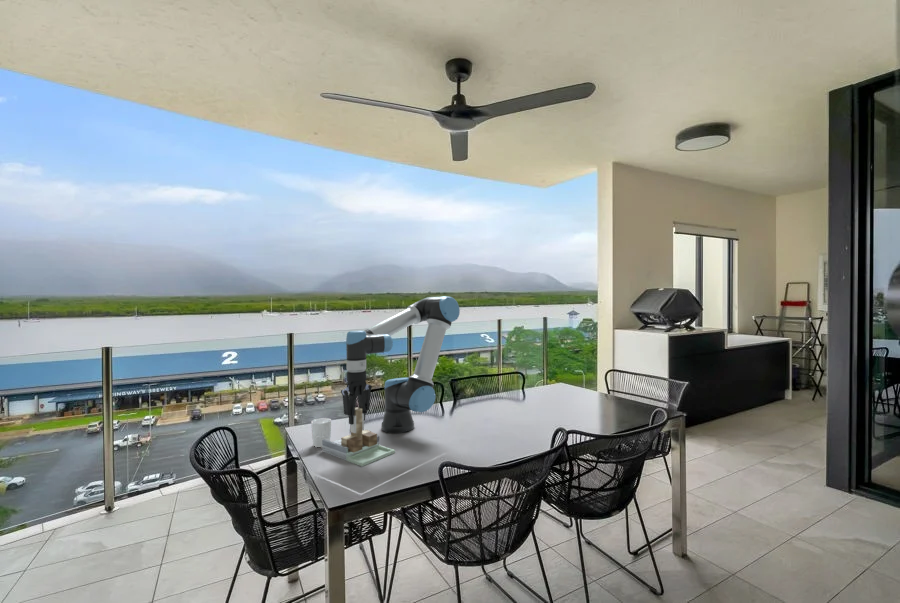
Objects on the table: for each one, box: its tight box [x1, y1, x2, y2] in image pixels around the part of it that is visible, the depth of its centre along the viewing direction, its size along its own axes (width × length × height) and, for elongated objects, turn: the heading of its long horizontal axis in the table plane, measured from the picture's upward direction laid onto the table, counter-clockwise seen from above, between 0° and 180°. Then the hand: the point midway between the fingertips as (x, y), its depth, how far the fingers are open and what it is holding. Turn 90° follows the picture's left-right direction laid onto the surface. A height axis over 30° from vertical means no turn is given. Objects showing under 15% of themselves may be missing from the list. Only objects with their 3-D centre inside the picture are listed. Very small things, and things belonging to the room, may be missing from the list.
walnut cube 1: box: [347, 437, 362, 453], centre depth 148 cm, size 4×4×4 cm
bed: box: [321, 435, 380, 461], centre depth 155 cm, size 16×15×5 cm
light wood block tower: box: [340, 406, 372, 447], centre depth 153 cm, size 12×3×13 cm, turn 141°
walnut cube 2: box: [362, 431, 378, 447], centre depth 153 cm, size 4×4×4 cm
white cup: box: [310, 417, 332, 448], centre depth 162 cm, size 8×8×10 cm
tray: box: [345, 444, 396, 467], centre depth 148 cm, size 16×9×2 cm, turn 142°
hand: (357, 430), depth 153 cm, fingers closed on light wood block tower, 3 cm apart
